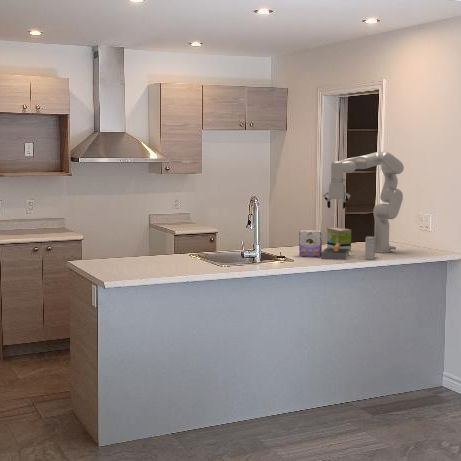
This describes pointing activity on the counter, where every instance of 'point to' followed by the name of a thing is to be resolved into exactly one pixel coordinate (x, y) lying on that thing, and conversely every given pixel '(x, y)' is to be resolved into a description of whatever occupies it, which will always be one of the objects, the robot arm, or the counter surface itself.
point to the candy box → (310, 243)
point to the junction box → (369, 248)
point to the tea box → (339, 238)
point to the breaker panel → (334, 254)
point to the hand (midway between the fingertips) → (336, 208)
